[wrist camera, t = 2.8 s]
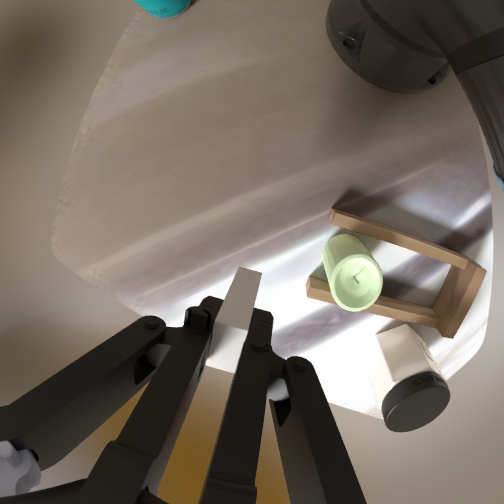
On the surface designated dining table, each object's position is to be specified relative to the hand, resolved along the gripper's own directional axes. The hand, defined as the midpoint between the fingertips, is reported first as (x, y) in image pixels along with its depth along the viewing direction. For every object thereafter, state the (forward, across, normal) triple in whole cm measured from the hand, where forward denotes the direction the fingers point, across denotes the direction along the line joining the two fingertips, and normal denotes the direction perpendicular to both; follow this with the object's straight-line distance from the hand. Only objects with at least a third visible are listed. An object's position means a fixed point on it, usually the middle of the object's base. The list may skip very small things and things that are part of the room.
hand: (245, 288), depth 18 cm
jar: (+14, +22, -11) cm, 28 cm away
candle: (+14, +9, 0) cm, 16 cm away
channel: (+13, +16, 0) cm, 21 cm away
